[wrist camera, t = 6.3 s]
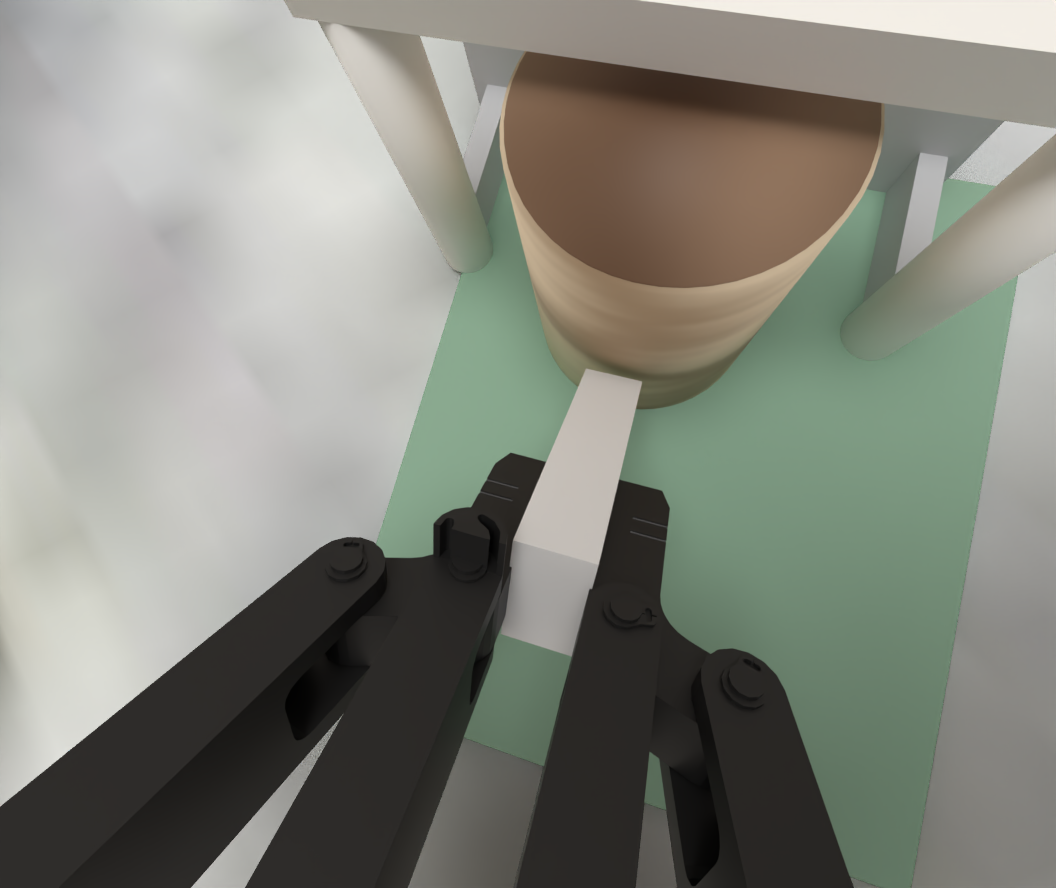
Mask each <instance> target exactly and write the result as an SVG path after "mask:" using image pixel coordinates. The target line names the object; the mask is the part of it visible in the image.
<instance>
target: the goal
mask: <svg viewBox="0 0 1056 888" xmlns="http://www.w3.org/2000/svg"><path fill="white" fill-rule="evenodd" d="M284 1H285V3H286V5H287V6H288V8H289V10H290V12H291V13H292V15H293V17H295V18H302V19H309V20H316V21H318V22H319V24H320V26H321V28H322V30H323V31H324V33H325V35H326V37H327V39H328V41H329V43H330V44H331V46H332V48H333V50H334V52H335V54H336V56H337V57H338V59H339V61H340V63H341V65H342V67H343V69H344V70H345V72H346V74H347V76H348V78H349V80H350V82H351V83H352V85H353V87H354V89H355V91H356V93H357V95H358V97H359V98H360V100H361V102H362V104H363V106H364V108H365V110H366V111H367V113H368V115H369V117H370V119H371V121H372V123H373V124H374V126H375V128H376V130H377V132H378V134H379V136H380V137H381V139H382V141H383V143H384V145H385V147H386V149H387V151H388V152H389V154H390V156H391V158H392V160H393V162H394V164H395V165H396V167H397V169H398V171H399V173H400V175H401V177H402V178H403V180H404V182H405V184H406V186H407V188H408V190H409V191H410V193H411V195H412V197H413V199H414V201H415V203H416V204H417V206H418V208H419V210H420V212H421V214H422V216H423V218H424V219H425V221H426V223H427V225H428V227H429V229H430V231H431V232H432V234H433V236H434V238H435V240H436V242H437V244H438V245H439V247H440V249H441V251H442V253H443V255H444V257H445V258H446V260H447V262H448V264H449V265H450V266H451V267H452V268H453V269H454V270H456V271H458V272H461V273H473V272H476V271H478V270H480V269H482V268H483V267H484V266H486V265H487V263H488V262H489V261H490V259H491V256H492V253H493V244H492V241H491V238H490V235H489V232H488V229H487V226H488V222H489V219H490V216H491V213H492V210H493V206H494V203H495V200H496V197H497V194H498V191H499V187H500V184H501V181H502V178H503V175H504V170H503V164H502V158H501V152H500V129H499V126H500V118H501V111H502V104H503V101H504V97H505V93H506V90H507V86H508V83H509V81H510V79H511V76H512V74H513V72H514V69H515V67H516V65H517V63H518V61H519V60H520V58H521V56H522V55H523V53H524V51H529V52H536V53H542V54H549V55H556V56H563V57H570V58H577V59H584V60H590V61H597V62H604V63H611V64H618V65H625V66H632V67H638V68H645V69H652V70H659V71H666V72H673V73H680V74H686V75H693V76H700V77H707V78H714V79H721V80H728V81H734V82H741V83H748V84H755V85H762V86H769V87H776V88H782V89H789V90H796V91H803V92H810V93H817V94H824V95H830V96H837V97H844V98H851V99H858V100H865V101H872V102H878V103H884V106H885V121H884V136H883V142H882V148H881V153H880V156H879V159H878V162H877V165H876V168H875V171H874V175H873V177H872V179H871V181H870V183H869V185H868V187H867V189H868V190H874V191H879V192H885V193H886V196H885V201H884V206H883V211H882V215H881V220H880V225H879V229H878V234H877V239H876V243H875V248H874V253H873V258H872V262H871V267H870V272H869V276H868V281H867V286H866V291H865V295H864V300H863V303H862V304H861V305H860V306H859V307H858V308H856V309H855V310H854V311H853V312H852V313H851V314H850V315H848V316H847V317H846V319H845V320H844V322H843V324H842V326H841V331H840V335H841V340H842V343H843V345H844V347H845V348H846V349H847V351H848V352H850V353H851V354H852V355H853V356H855V357H857V358H860V359H863V360H868V361H874V360H880V359H883V358H885V357H887V356H889V355H890V354H892V353H893V352H895V351H897V350H898V349H900V348H901V347H903V346H905V345H906V344H908V343H910V342H911V341H913V340H914V339H916V338H918V337H919V336H921V335H922V334H924V333H926V332H927V331H929V330H931V329H932V328H934V327H935V326H937V325H939V324H940V323H942V322H943V321H945V320H947V319H948V318H950V317H952V316H953V315H955V314H956V313H958V312H960V311H961V310H963V309H964V308H966V307H968V306H969V305H971V304H973V303H974V302H976V301H977V300H979V299H981V298H982V297H984V296H985V295H987V294H989V293H990V292H992V291H994V290H995V289H997V288H998V287H1000V286H1002V285H1003V284H1005V283H1006V282H1008V281H1010V280H1011V279H1013V278H1015V277H1016V276H1018V275H1019V274H1021V273H1023V272H1024V271H1026V270H1027V269H1029V268H1031V267H1032V266H1034V265H1036V264H1037V263H1039V262H1040V261H1042V260H1044V259H1045V258H1047V257H1048V256H1050V255H1052V254H1053V253H1055V252H1056V134H1055V135H1054V136H1053V137H1052V138H1051V139H1050V140H1048V141H1047V142H1046V143H1045V144H1044V145H1043V146H1042V147H1040V148H1039V149H1038V150H1037V151H1036V152H1035V153H1034V154H1032V155H1031V156H1030V157H1029V158H1028V159H1027V160H1026V161H1024V162H1023V163H1022V164H1021V165H1020V166H1019V167H1018V168H1016V169H1015V170H1014V171H1013V172H1012V173H1011V174H1010V175H1008V176H1007V177H1006V178H1005V179H1004V180H1003V181H1002V182H1000V183H999V184H998V185H997V186H996V187H995V188H994V189H992V190H991V191H990V192H989V193H988V194H987V195H986V196H984V197H983V198H982V199H981V200H980V201H979V202H978V203H976V204H975V205H974V206H973V207H972V208H971V209H970V210H968V211H967V212H966V213H965V214H964V215H963V216H962V217H960V218H959V219H958V220H957V221H956V222H955V223H954V224H952V225H951V226H950V227H949V228H948V229H947V230H946V231H944V232H943V233H942V234H941V235H940V236H939V237H938V238H936V239H935V240H934V241H933V242H932V237H933V232H934V227H935V222H936V217H937V212H938V207H939V202H940V197H941V192H942V187H943V183H944V182H945V181H946V180H947V179H948V178H949V177H950V176H951V175H952V174H953V173H954V172H955V171H956V170H957V169H958V168H959V167H960V166H961V165H962V164H963V163H964V162H965V161H966V160H967V159H968V158H969V157H970V156H971V154H972V153H973V152H974V151H975V150H976V149H977V148H978V147H979V146H980V145H981V144H982V143H983V142H984V141H985V140H986V139H987V138H988V137H989V136H990V135H991V134H992V133H993V132H994V131H995V130H996V129H997V128H998V127H999V126H1000V125H1001V124H1002V123H1003V122H1004V121H1009V122H1016V123H1023V124H1029V125H1036V126H1043V127H1050V128H1056V0H284ZM420 36H426V37H433V38H439V39H446V40H453V41H460V42H463V44H464V47H465V51H466V55H467V59H468V62H469V66H470V70H471V74H472V77H473V81H474V85H475V89H476V92H477V96H478V100H479V103H480V109H479V112H478V115H477V118H476V121H475V124H474V127H473V130H472V133H471V136H470V140H469V143H468V146H467V149H466V152H465V155H464V158H462V155H461V152H460V149H459V147H458V144H457V141H456V138H455V135H454V132H453V129H452V127H451V124H450V121H449V118H448V115H447V112H446V109H445V107H444V104H443V101H442V98H441V95H440V92H439V89H438V87H437V84H436V81H435V78H434V75H433V72H432V69H431V67H430V64H429V61H428V58H427V55H426V52H425V49H424V47H423V44H422V41H421V38H420ZM931 242H932V243H931Z"/></svg>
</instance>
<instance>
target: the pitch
mask: <svg viewBox="0 0 1056 888" xmlns="http://www.w3.org/2000/svg"><path fill="white" fill-rule="evenodd" d="M995 187H996V186H991V185H985V184H979V183H973V182H967V181H961V180H955V179H949V178H948V179H947V180H946V181H945V182H944V183H943V187H942V192H941V197H940V202H939V207H938V212H937V217H936V222H935V227H934V232H933V237H932V242H933V241H934V240H935V239H936V238H938V237H939V236H940V235H941V234H942V233H943V232H944V231H946V230H947V229H948V228H949V227H950V226H951V225H952V224H954V223H955V222H956V221H957V220H958V219H959V218H960V217H962V216H963V215H964V214H965V213H966V212H967V211H968V210H970V209H971V208H972V207H973V206H974V205H975V204H976V203H978V202H979V201H980V200H981V199H982V198H983V197H984V196H986V195H987V194H988V193H989V192H990V191H991V190H992V189H994V188H995ZM885 196H886V193H885V192H879V191H874V190H868V189H866V191H865V193H864V195H863V197H862V198H861V200H860V201H859V202H858V204H857V205H856V207H855V208H854V210H853V211H852V212H851V214H850V215H849V217H848V218H847V219H846V221H845V222H844V223H843V224H842V226H841V227H840V228H839V229H838V231H837V232H836V233H835V235H834V236H833V237H832V238H831V240H830V241H829V242H828V243H827V245H826V246H825V247H824V248H823V250H822V251H821V252H820V254H819V255H818V256H817V257H816V259H815V260H814V261H813V262H812V264H811V265H810V266H809V267H808V269H807V270H806V271H805V273H804V274H803V275H802V276H801V278H800V279H799V280H798V281H797V283H796V284H795V285H794V286H793V288H792V289H791V290H790V291H789V293H788V294H787V295H786V297H785V298H784V299H783V300H782V302H781V303H780V304H779V305H778V307H777V308H776V309H775V310H774V312H773V313H772V314H771V316H770V317H769V318H768V319H767V321H766V322H765V323H764V324H763V326H762V327H761V328H760V329H759V331H758V332H757V333H756V335H755V336H754V337H753V338H752V340H751V341H750V342H749V343H748V345H747V346H746V347H745V348H744V350H743V351H742V352H741V353H740V355H739V356H738V357H737V359H736V360H735V361H734V362H733V364H732V365H731V366H730V367H729V369H728V370H727V371H726V372H725V373H724V374H723V375H722V376H721V378H720V379H719V380H718V381H717V382H715V383H714V384H713V385H712V386H710V387H709V388H708V389H707V390H705V391H703V392H702V393H700V394H699V395H697V396H695V397H693V398H691V399H689V400H687V401H684V402H682V403H679V404H675V405H672V406H668V407H663V408H657V409H636V410H635V414H634V418H633V422H632V427H631V431H630V435H629V439H628V443H627V448H626V452H625V456H624V460H623V465H622V469H621V473H620V477H619V480H623V481H627V482H631V483H635V484H639V485H642V486H646V487H650V488H654V489H658V490H662V491H663V493H664V496H665V498H666V500H667V503H668V505H669V507H670V512H669V521H668V527H667V529H668V530H667V540H666V549H665V558H664V567H663V576H662V585H661V594H660V597H661V606H662V609H663V612H664V615H665V616H666V618H667V620H668V621H669V623H670V624H671V625H672V626H673V627H674V628H675V630H676V631H677V632H678V633H680V634H681V635H682V636H684V637H685V638H686V639H688V640H689V641H691V642H692V643H694V644H695V645H697V646H699V647H700V648H702V649H704V650H705V651H707V652H708V653H710V654H711V653H713V652H715V651H716V650H718V649H729V648H733V649H737V650H741V651H745V652H748V653H750V654H752V655H753V656H755V657H757V658H758V659H760V660H762V661H763V662H765V663H766V664H767V665H768V666H769V668H770V669H771V670H772V671H773V672H774V673H775V674H776V675H777V676H778V678H779V680H780V682H781V684H782V686H783V687H784V689H785V692H786V694H787V697H788V700H789V703H790V706H791V709H792V712H793V715H794V717H795V720H796V723H797V726H798V729H799V732H800V735H801V738H802V740H803V743H804V746H805V749H806V752H807V755H808V758H809V761H810V763H811V766H812V769H813V772H814V775H815V778H816V781H817V784H818V786H819V789H820V792H821V795H822V798H823V801H824V804H825V807H826V810H827V812H828V815H829V818H830V821H831V824H832V827H833V830H834V833H835V835H836V838H837V841H838V844H839V847H840V850H841V853H842V856H843V858H844V861H845V864H846V867H847V870H848V873H849V876H850V877H852V878H855V879H858V880H860V881H863V882H866V883H869V884H871V885H874V886H877V887H880V888H911V885H912V879H913V873H914V868H915V862H916V856H917V851H918V845H919V839H920V833H921V828H922V822H923V816H924V811H925V805H926V799H927V793H928V788H929V782H930V776H931V770H932V765H933V759H934V753H935V748H936V742H937V736H938V730H939V725H940V719H941V713H942V708H943V702H944V696H945V690H946V685H947V679H948V673H949V667H950V662H951V656H952V650H953V645H954V639H955V633H956V627H957V622H958V616H959V610H960V605H961V599H962V593H963V587H964V582H965V576H966V570H967V564H968V559H969V553H970V547H971V542H972V536H973V530H974V524H975V519H976V513H977V507H978V502H979V496H980V490H981V484H982V479H983V473H984V467H985V462H986V456H987V450H988V444H989V439H990V433H991V427H992V421H993V416H994V410H995V404H996V399H997V393H998V387H999V381H1000V376H1001V370H1002V364H1003V359H1004V353H1005V347H1006V341H1007V336H1008V330H1009V324H1010V318H1011V313H1012V307H1013V301H1014V296H1015V290H1016V284H1017V278H1018V276H1016V277H1015V278H1013V279H1011V280H1010V281H1008V282H1006V283H1005V284H1003V285H1002V286H1000V287H998V288H997V289H995V290H994V291H992V292H990V293H989V294H987V295H985V296H984V297H982V298H981V299H979V300H977V301H976V302H974V303H973V304H971V305H969V306H968V307H966V308H964V309H963V310H961V311H960V312H958V313H956V314H955V315H953V316H952V317H950V318H948V319H947V320H945V321H943V322H942V323H940V324H939V325H937V326H935V327H934V328H932V329H931V330H929V331H927V332H926V333H924V334H922V335H921V336H919V337H918V338H916V339H914V340H913V341H911V342H910V343H908V344H906V345H905V346H903V347H901V348H900V349H898V350H897V351H895V352H893V353H892V354H890V355H889V356H887V357H885V358H883V359H880V360H874V361H868V360H863V359H860V358H857V357H855V356H853V355H852V354H851V353H850V352H848V351H847V349H846V348H845V347H844V345H843V343H842V340H841V335H840V331H841V326H842V324H843V322H844V320H845V319H846V317H847V316H848V315H850V314H851V313H852V312H853V311H854V310H855V309H856V308H858V307H859V306H860V305H861V304H862V303H863V300H864V295H865V291H866V286H867V281H868V276H869V272H870V267H871V262H872V258H873V253H874V248H875V243H876V239H877V234H878V229H879V225H880V220H881V215H882V211H883V206H884V201H885ZM487 229H488V232H489V235H490V238H491V241H492V244H493V253H492V256H491V259H490V261H489V262H488V263H487V265H486V266H484V267H483V268H482V269H480V270H478V271H476V272H473V273H462V274H461V277H460V280H459V283H458V286H457V290H456V293H455V296H454V299H453V302H452V305H451V309H450V312H449V315H448V318H447V321H446V324H445V328H444V331H443V334H442V337H441V340H440V343H439V347H438V350H437V353H436V356H435V359H434V362H433V366H432V369H431V372H430V375H429V378H428V381H427V385H426V388H425V391H424V394H423V397H422V400H421V404H420V407H419V410H418V413H417V416H416V419H415V423H414V426H413V429H412V432H411V435H410V438H409V442H408V445H407V448H406V451H405V454H404V457H403V461H402V464H401V467H400V470H399V473H398V476H397V480H396V483H395V486H394V489H393V492H392V495H391V499H390V502H389V505H388V508H387V511H386V514H385V518H384V521H383V524H382V527H381V530H380V533H379V537H378V540H377V543H376V545H377V546H379V547H380V548H381V549H382V551H383V553H384V556H385V557H387V558H416V557H424V556H428V555H432V554H433V523H434V522H435V521H436V520H437V519H438V518H439V517H440V516H441V515H442V514H445V513H447V512H449V511H451V510H453V509H458V508H465V507H471V506H472V505H473V503H474V501H475V499H476V497H477V495H478V494H479V493H480V490H481V488H482V486H483V485H484V483H485V481H486V480H487V477H488V475H489V474H490V472H491V470H492V468H493V466H494V465H495V463H496V462H498V461H499V460H501V459H502V458H504V457H505V456H507V455H508V454H509V453H514V454H518V455H522V456H526V457H530V458H534V459H537V460H541V461H545V462H547V459H548V457H549V454H550V452H551V450H552V447H553V445H554V443H555V440H556V438H557V436H558V433H559V431H560V429H561V426H562V424H563V422H564V419H565V417H566V415H567V412H568V410H569V408H570V405H571V403H572V400H573V398H574V396H575V393H576V391H577V389H578V387H577V386H576V385H575V384H574V383H573V382H572V381H571V380H569V378H568V377H567V376H566V375H565V374H564V373H563V372H562V370H561V369H560V368H559V366H558V365H557V363H556V362H555V360H554V358H553V356H552V354H551V352H550V350H549V348H548V344H547V341H546V338H545V335H544V331H543V327H542V323H541V319H540V315H539V310H538V306H537V302H536V298H535V294H534V290H533V286H532V282H531V278H530V274H529V270H528V266H527V262H526V258H525V254H524V250H523V246H522V242H521V238H520V234H519V230H518V226H517V222H516V218H515V214H514V210H513V206H512V202H511V198H510V194H509V190H508V186H507V182H506V178H505V174H504V175H503V178H502V181H501V184H500V187H499V191H498V194H497V197H496V200H495V203H494V206H493V210H492V213H491V216H490V219H489V222H488V226H487ZM932 242H931V243H932ZM501 629H502V626H501V628H500V631H499V634H498V636H497V639H496V641H495V645H494V652H493V659H492V662H491V665H490V668H489V670H488V673H487V676H486V678H485V681H484V684H483V686H482V689H481V692H480V695H479V697H478V700H477V703H476V705H475V708H474V711H473V713H472V716H471V719H470V721H469V724H468V727H467V729H466V732H465V735H464V738H466V739H469V740H471V741H474V742H477V743H480V744H482V745H485V746H488V747H491V748H494V749H496V750H499V751H502V752H505V753H507V754H510V755H513V756H516V757H519V758H521V759H524V760H527V761H530V762H532V763H535V764H538V765H541V766H544V764H545V760H546V756H547V752H548V748H549V744H550V740H551V736H552V732H553V728H554V724H555V720H556V716H557V712H558V708H559V702H560V699H561V695H562V691H563V688H564V684H565V680H566V677H567V673H568V669H569V665H570V661H571V657H572V656H568V655H565V654H562V653H559V652H556V651H553V650H550V649H546V648H543V647H540V646H537V645H534V644H531V643H527V642H524V641H521V640H518V639H515V638H512V637H509V636H505V635H502V634H501ZM644 803H646V804H649V805H652V806H655V807H657V808H660V809H663V810H666V804H665V797H664V790H663V783H662V776H661V769H660V762H659V758H658V757H656V756H655V755H653V754H652V753H651V752H649V762H648V772H647V781H646V791H645V801H644Z"/></svg>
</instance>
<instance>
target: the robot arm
mask: <svg viewBox="0 0 1056 888" xmlns="http://www.w3.org/2000/svg"><path fill="white" fill-rule="evenodd" d="M641 385H642V381H638V380H634V379H629V378H625V377H621V376H616V375H612V374H608V373H603V372H599V371H595V370H590V369H586V370H585V372H584V375H583V377H582V379H581V382H580V384H579V386H578V389H577V391H576V393H575V396H574V398H573V400H572V403H571V405H570V408H569V410H568V412H567V415H566V417H565V419H564V422H563V424H562V426H561V429H560V431H559V433H558V436H557V438H556V440H555V443H554V445H553V447H552V450H551V452H550V454H549V457H548V459H547V462H545V461H541V460H537V459H534V458H530V457H526V456H522V455H518V454H514V453H509V454H508V455H507V456H505V457H504V458H502V459H501V460H499V461H498V462H496V463H495V465H494V466H493V468H492V470H491V472H490V474H489V475H488V477H487V480H486V481H485V483H484V485H483V486H482V488H481V490H480V493H479V494H478V495H477V497H476V499H475V501H474V503H473V505H472V506H471V507H465V508H458V509H453V510H451V511H449V512H447V513H445V514H442V515H441V516H440V517H439V518H438V519H437V520H436V521H435V522H434V523H433V554H432V555H428V556H424V557H416V558H387V557H385V556H384V553H383V551H382V549H381V548H380V547H379V546H377V545H376V544H375V543H374V542H372V541H369V540H366V539H363V538H356V537H346V538H342V539H338V540H334V541H331V542H329V543H328V544H326V545H324V546H323V547H321V548H319V549H318V550H317V551H316V552H314V553H313V554H312V555H311V556H309V557H308V558H307V559H306V560H304V561H303V562H302V563H301V564H299V565H298V566H297V567H296V568H295V569H293V570H292V571H291V572H290V573H288V574H287V575H286V576H285V577H283V578H282V579H281V580H280V581H278V582H277V583H276V584H275V585H274V586H272V587H271V588H270V589H269V590H267V591H266V592H265V593H264V594H262V595H261V596H260V597H259V598H257V599H256V600H255V601H254V602H253V603H251V604H250V605H249V606H248V607H246V608H245V609H244V610H243V611H241V612H240V613H239V614H238V615H236V616H235V617H234V618H233V619H232V620H230V621H229V622H228V623H227V624H225V625H224V626H223V627H222V628H220V629H219V630H218V631H217V632H215V633H214V634H213V635H212V636H211V637H209V638H208V639H207V640H206V641H204V642H203V643H202V644H201V645H199V646H198V647H197V648H196V649H194V650H193V651H192V652H191V653H190V654H188V655H187V656H186V657H185V658H183V659H182V660H181V661H180V662H178V663H177V664H176V665H175V666H173V667H172V668H171V669H170V670H169V671H167V672H166V673H165V674H164V675H162V676H161V677H160V678H159V679H157V680H156V681H155V682H154V683H152V684H151V685H150V686H149V687H148V688H146V689H145V690H144V691H143V692H141V693H140V694H139V695H138V696H136V697H135V698H134V699H133V700H131V701H130V702H129V703H128V704H127V705H125V706H124V707H123V708H122V709H120V710H119V711H118V712H117V713H115V714H114V715H113V716H112V717H110V718H109V719H108V720H107V721H106V722H104V723H103V724H102V725H101V726H99V727H98V728H97V729H96V730H94V731H93V732H92V733H91V734H89V735H88V736H87V737H86V738H85V739H83V740H82V741H81V742H80V743H78V744H77V745H76V746H75V747H73V748H72V749H71V750H70V751H68V752H67V753H66V754H65V755H64V756H62V757H61V758H60V759H59V760H57V761H56V762H55V763H54V764H52V765H51V766H50V767H49V768H47V769H46V770H45V771H44V772H43V773H41V774H40V775H39V776H38V777H36V778H35V779H34V780H33V781H31V782H30V783H29V784H28V785H26V786H25V787H24V788H23V789H22V790H20V791H19V792H18V793H17V794H15V795H14V796H13V797H12V798H10V799H9V800H8V801H7V802H5V803H4V804H3V805H2V806H1V807H0V888H191V887H192V886H193V885H194V884H195V882H196V881H197V880H198V879H199V878H200V877H201V876H202V874H203V873H204V872H205V871H206V870H207V869H208V868H209V866H210V865H211V864H212V863H213V862H214V861H215V860H216V858H217V857H218V856H219V855H220V854H221V853H222V852H223V850H224V849H225V848H226V847H227V846H228V845H229V844H230V842H231V841H232V840H233V839H234V838H235V837H236V836H237V834H238V833H239V832H240V831H241V830H242V829H243V828H244V826H245V825H246V824H247V823H248V822H249V821H250V820H251V818H252V817H253V816H254V815H255V814H256V813H257V812H258V810H259V809H260V808H261V807H262V806H263V805H264V804H265V802H266V801H267V800H268V799H269V798H270V797H271V796H272V795H273V793H274V792H275V791H276V790H277V789H278V788H279V787H280V785H281V784H282V783H283V782H284V781H285V780H286V779H287V777H288V776H289V775H290V774H291V773H292V772H293V771H294V769H295V768H296V767H297V766H298V765H299V764H300V763H301V761H302V760H303V759H304V758H305V757H306V756H307V755H308V753H309V752H310V751H311V750H312V749H313V748H314V747H315V745H316V744H317V743H318V742H319V741H320V740H321V739H322V737H323V736H324V735H325V734H326V733H327V732H328V731H329V729H330V728H331V727H332V726H333V725H334V724H335V723H336V721H337V720H338V719H339V718H340V717H341V716H342V715H343V716H342V718H341V719H340V721H339V723H338V725H337V726H336V728H335V730H334V732H333V734H332V735H331V737H330V739H329V741H328V742H327V744H326V746H325V748H324V749H323V751H322V753H321V755H320V756H319V758H318V760H317V762H316V763H315V765H314V767H313V769H312V771H311V772H310V774H309V776H308V778H307V779H306V781H305V783H304V785H303V786H302V788H301V790H300V792H299V793H298V795H297V797H296V799H295V801H294V802H293V804H292V806H291V808H290V809H289V811H288V813H287V815H286V816H285V818H284V820H283V822H282V823H281V825H280V827H279V829H278V830H277V832H276V834H275V836H274V838H273V839H272V841H271V843H270V845H269V846H268V848H267V850H266V852H265V853H264V855H263V857H262V859H261V860H260V862H259V864H258V866H257V868H256V869H255V871H254V873H253V875H252V876H251V878H250V880H249V882H248V883H247V885H246V887H245V888H408V885H409V883H410V880H411V877H412V875H413V872H414V869H415V867H416V864H417V861H418V858H419V856H420V853H421V850H422V848H423V845H424V842H425V840H426V837H427V834H428V832H429V829H430V826H431V824H432V821H433V818H434V815H435V813H436V810H437V807H438V805H439V802H440V799H441V797H442V794H443V791H444V789H445V786H446V783H447V781H448V778H449V775H450V772H451V770H452V767H453V764H454V762H455V759H456V756H457V754H458V751H459V748H460V746H461V743H462V740H463V738H464V735H465V732H466V729H467V727H468V724H469V721H470V719H471V716H472V713H473V711H474V708H475V705H476V703H477V700H478V697H479V695H480V692H481V689H482V686H483V684H484V681H485V678H486V676H487V673H488V670H489V668H490V665H491V662H492V659H493V652H494V645H495V641H496V639H497V636H498V634H499V631H500V628H501V626H502V629H501V634H502V635H505V636H509V637H512V638H515V639H518V640H521V641H524V642H527V643H531V644H534V645H537V646H540V647H543V648H546V649H550V650H553V651H556V652H559V653H562V654H565V655H568V656H572V657H571V661H570V665H569V669H568V673H567V677H566V680H565V684H564V688H563V691H562V695H561V699H560V702H559V708H558V712H557V716H556V720H555V724H554V728H553V732H552V736H551V740H550V744H549V748H548V752H547V756H546V760H545V764H544V768H543V772H542V776H541V780H540V784H539V788H538V792H537V796H536V800H535V804H534V808H533V812H532V816H531V820H530V824H529V828H528V832H527V836H526V840H525V844H524V848H523V852H522V856H521V860H520V864H519V868H518V872H517V876H516V880H515V884H514V888H635V887H636V877H637V868H638V858H639V849H640V839H641V829H642V820H643V810H644V801H645V791H646V781H647V772H648V762H649V752H651V753H652V754H653V755H655V756H656V757H658V758H659V762H660V769H661V776H662V783H663V790H664V797H665V804H666V811H667V818H668V826H669V833H670V840H671V847H672V854H673V861H674V868H675V875H676V882H677V888H854V887H853V884H852V881H851V879H850V876H849V873H848V870H847V867H846V864H845V861H844V858H843V856H842V853H841V850H840V847H839V844H838V841H837V838H836V835H835V833H834V830H833V827H832V824H831V821H830V818H829V815H828V812H827V810H826V807H825V804H824V801H823V798H822V795H821V792H820V789H819V786H818V784H817V781H816V778H815V775H814V772H813V769H812V766H811V763H810V761H809V758H808V755H807V752H806V749H805V746H804V743H803V740H802V738H801V735H800V732H799V729H798V726H797V723H796V720H795V717H794V715H793V712H792V709H791V706H790V703H789V700H788V697H787V694H786V692H785V689H784V687H783V686H782V684H781V682H780V680H779V678H778V676H777V675H776V674H775V673H774V672H773V671H772V670H771V669H770V668H769V666H768V665H767V664H766V663H765V662H763V661H762V660H760V659H758V658H757V657H755V656H753V655H752V654H750V653H748V652H745V651H741V650H737V649H733V648H729V649H718V650H716V651H715V652H713V653H711V654H710V653H708V652H707V651H705V650H704V649H702V648H700V647H699V646H697V645H695V644H694V643H692V642H691V641H689V640H688V639H686V638H685V637H684V636H682V635H681V634H680V633H678V632H677V631H676V630H675V628H674V627H673V626H672V625H671V624H670V623H669V621H668V620H667V618H666V616H665V615H664V612H663V609H662V606H661V597H660V594H661V585H662V576H663V567H664V558H665V549H666V540H667V530H668V529H667V527H668V521H669V512H670V507H669V505H668V503H667V500H666V498H665V496H664V493H663V491H662V490H658V489H654V488H650V487H646V486H642V485H639V484H635V483H631V482H627V481H623V480H619V477H620V473H621V469H622V465H623V460H624V456H625V452H626V448H627V443H628V439H629V435H630V431H631V427H632V422H633V418H634V414H635V410H636V406H637V401H638V397H639V393H640V389H641ZM343 713H344V714H343Z"/></svg>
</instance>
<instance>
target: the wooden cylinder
mask: <svg viewBox="0 0 1056 888" xmlns="http://www.w3.org/2000/svg"><path fill="white" fill-rule="evenodd" d="M884 121H885V106H884V103H878V102H872V101H865V100H858V99H851V98H844V97H837V96H830V95H824V94H817V93H810V92H803V91H796V90H789V89H782V88H776V87H769V86H762V85H755V84H748V83H741V82H734V81H728V80H721V79H714V78H707V77H700V76H693V75H686V74H680V73H673V72H666V71H659V70H652V69H645V68H638V67H632V66H625V65H618V64H611V63H604V62H597V61H590V60H584V59H577V58H570V57H563V56H556V55H549V54H542V53H536V52H529V51H524V53H523V55H522V56H521V58H520V60H519V61H518V63H517V65H516V67H515V69H514V72H513V74H512V76H511V79H510V81H509V83H508V86H507V90H506V93H505V97H504V101H503V104H502V111H501V118H500V126H499V129H500V152H501V158H502V164H503V170H504V174H505V178H506V182H507V186H508V190H509V194H510V198H511V202H512V206H513V210H514V214H515V218H516V222H517V226H518V230H519V234H520V238H521V242H522V246H523V250H524V254H525V258H526V262H527V266H528V270H529V274H530V278H531V282H532V286H533V290H534V294H535V298H536V302H537V306H538V310H539V315H540V319H541V323H542V327H543V331H544V335H545V338H546V341H547V344H548V348H549V350H550V352H551V354H552V356H553V358H554V360H555V362H556V363H557V365H558V366H559V368H560V369H561V370H562V372H563V373H564V374H565V375H566V376H567V377H568V378H569V380H571V381H572V382H573V383H574V384H575V385H576V386H577V387H578V386H579V384H580V382H581V379H582V377H583V375H584V372H585V370H586V369H590V370H595V371H599V372H603V373H608V374H612V375H616V376H621V377H625V378H629V379H634V380H638V381H642V385H641V389H640V393H639V397H638V401H637V406H636V409H657V408H663V407H668V406H672V405H675V404H679V403H682V402H684V401H687V400H689V399H691V398H693V397H695V396H697V395H699V394H700V393H702V392H703V391H705V390H707V389H708V388H709V387H710V386H712V385H713V384H714V383H715V382H717V381H718V380H719V379H720V378H721V376H722V375H723V374H724V373H725V372H726V371H727V370H728V369H729V367H730V366H731V365H732V364H733V362H734V361H735V360H736V359H737V357H738V356H739V355H740V353H741V352H742V351H743V350H744V348H745V347H746V346H747V345H748V343H749V342H750V341H751V340H752V338H753V337H754V336H755V335H756V333H757V332H758V331H759V329H760V328H761V327H762V326H763V324H764V323H765V322H766V321H767V319H768V318H769V317H770V316H771V314H772V313H773V312H774V310H775V309H776V308H777V307H778V305H779V304H780V303H781V302H782V300H783V299H784V298H785V297H786V295H787V294H788V293H789V291H790V290H791V289H792V288H793V286H794V285H795V284H796V283H797V281H798V280H799V279H800V278H801V276H802V275H803V274H804V273H805V271H806V270H807V269H808V267H809V266H810V265H811V264H812V262H813V261H814V260H815V259H816V257H817V256H818V255H819V254H820V252H821V251H822V250H823V248H824V247H825V246H826V245H827V243H828V242H829V241H830V240H831V238H832V237H833V236H834V235H835V233H836V232H837V231H838V229H839V228H840V227H841V226H842V224H843V223H844V222H845V221H846V219H847V218H848V217H849V215H850V214H851V212H852V211H853V210H854V208H855V207H856V205H857V204H858V202H859V201H860V200H861V198H862V197H863V195H864V193H865V191H866V189H867V187H868V185H869V183H870V181H871V179H872V177H873V175H874V171H875V168H876V165H877V162H878V159H879V156H880V153H881V148H882V142H883V136H884Z"/></svg>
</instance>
